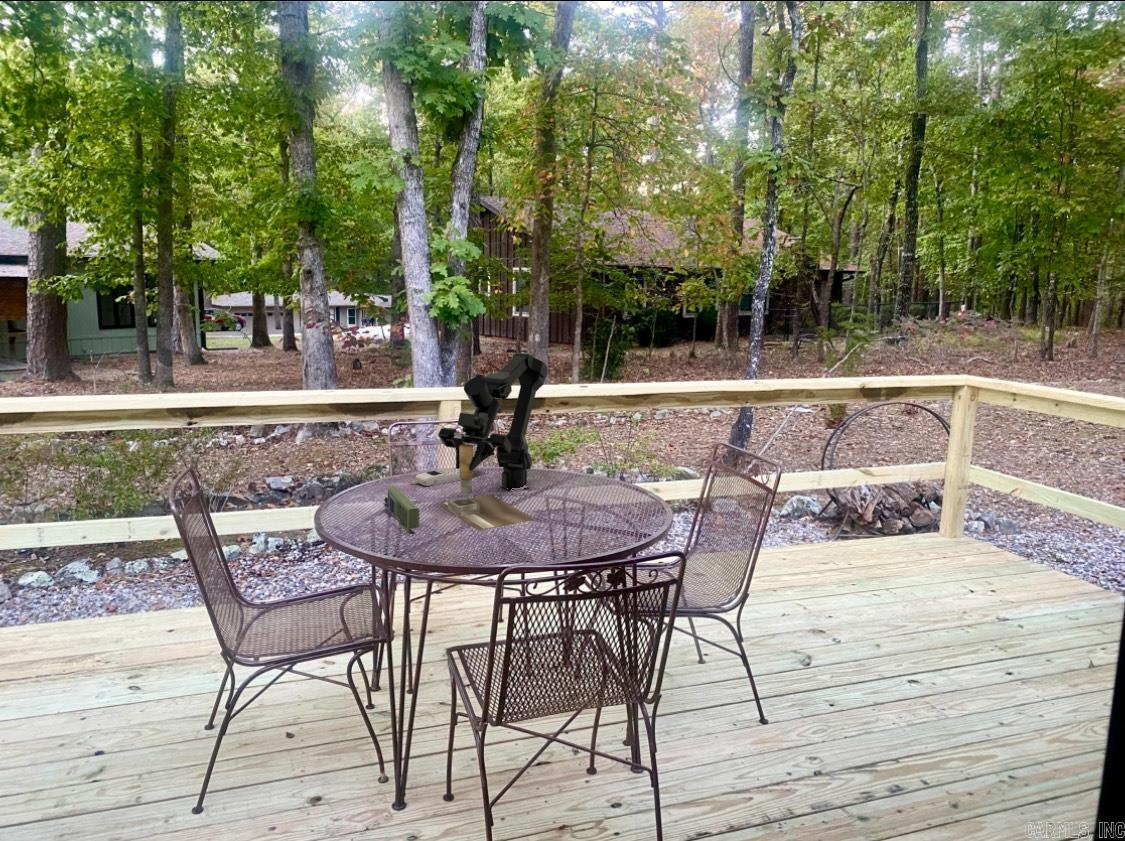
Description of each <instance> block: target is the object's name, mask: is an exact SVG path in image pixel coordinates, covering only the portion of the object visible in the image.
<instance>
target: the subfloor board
mask: <svg viewBox="0 0 1125 841" xmlns="http://www.w3.org/2000/svg"><path fill="white" fill-rule="evenodd" d="M438 505H439V506H440V507H441V508H443V509H445V510H446V511H448V512H450V513H451V514H453V515H454V516H456V518H458V519H460V520H462V521H463V522H464V523H466V524H467V525H469V526H470V527H472V528H473V529H474V530H477V531H478V532H479V531H485V530H489V529H495V528H499V527H505V526H509V525H514V524H515V525H516V524H520V523H525V522H530V521H535V520H536V518H533V517H532V516H530V515H528V514H527V513H526V512H523V511H522V510H520V509H518V508H516V507H515V506H512V505H511V504H509V503H507V502H505V501H503V500H502V499H500V498H498V497H497V496H495V495H493V494H489V495H481V496H477V497H476V496H475V497H463V498H458V499H452V500H447V501H446V502H442V503H441V502H439V503H438Z"/></svg>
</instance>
